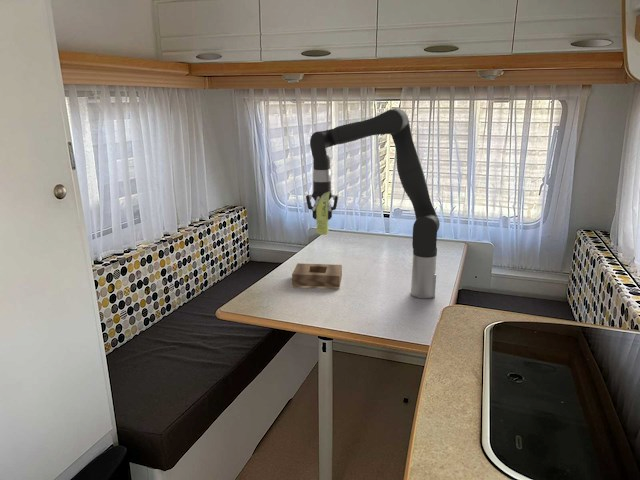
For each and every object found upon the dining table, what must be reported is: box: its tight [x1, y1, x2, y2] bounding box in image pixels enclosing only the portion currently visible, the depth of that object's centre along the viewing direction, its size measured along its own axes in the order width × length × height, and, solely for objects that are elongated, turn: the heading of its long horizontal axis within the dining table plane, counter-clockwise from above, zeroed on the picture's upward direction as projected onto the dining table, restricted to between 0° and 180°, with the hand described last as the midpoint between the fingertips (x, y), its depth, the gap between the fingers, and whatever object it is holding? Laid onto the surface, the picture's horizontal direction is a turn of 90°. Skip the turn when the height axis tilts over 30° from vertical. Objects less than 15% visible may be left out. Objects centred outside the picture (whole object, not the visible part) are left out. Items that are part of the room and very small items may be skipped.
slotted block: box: [291, 262, 343, 290], centre depth 207 cm, size 20×14×6 cm
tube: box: [315, 191, 330, 236], centre depth 204 cm, size 6×5×20 cm
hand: (322, 218), depth 205 cm, fingers closed on tube, 5 cm apart
